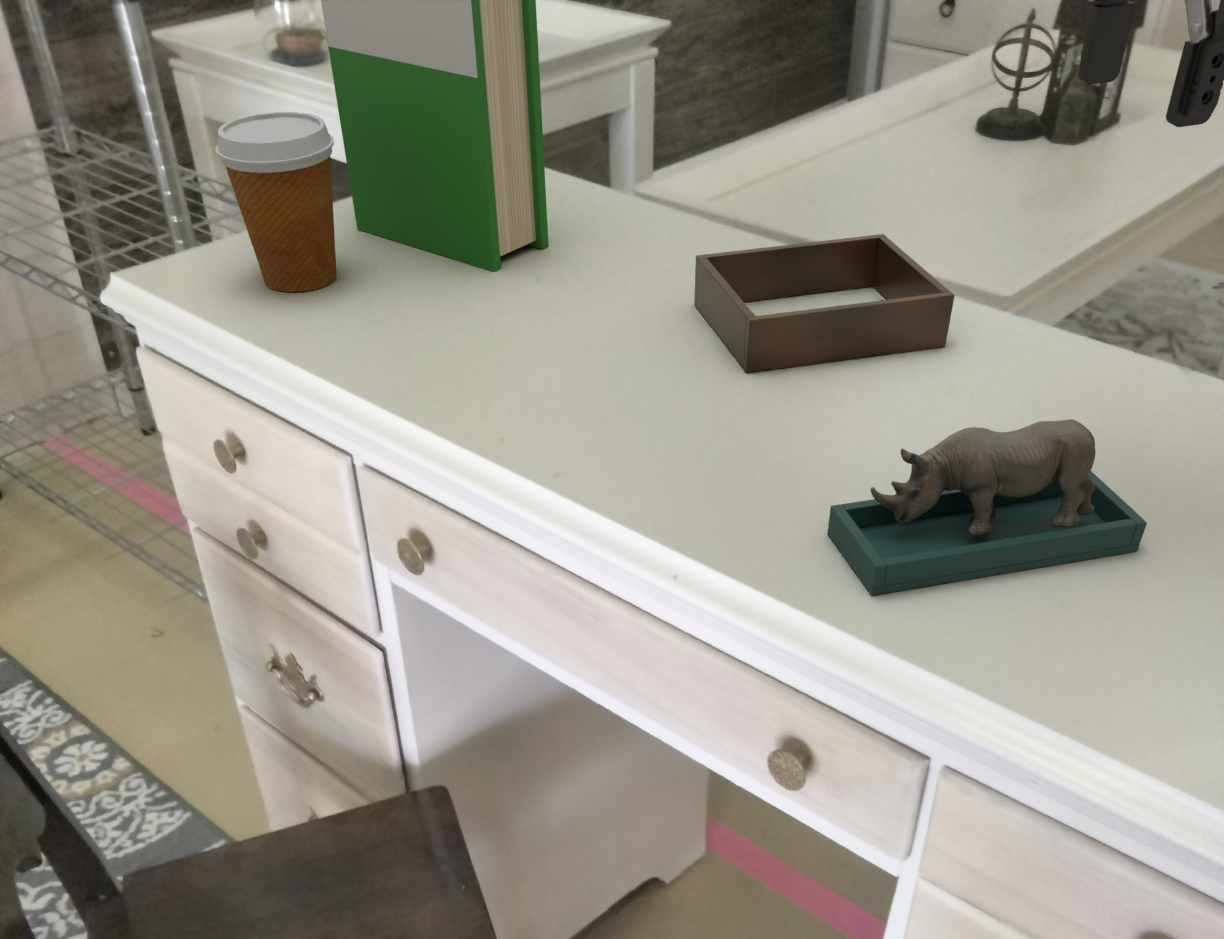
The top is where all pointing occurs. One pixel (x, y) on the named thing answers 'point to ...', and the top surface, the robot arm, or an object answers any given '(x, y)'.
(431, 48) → the hardback book
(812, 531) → the top surface
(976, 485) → the rhino figurine
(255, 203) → the disposable coffee cup
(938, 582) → the tray
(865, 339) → the open box
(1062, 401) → the top surface
